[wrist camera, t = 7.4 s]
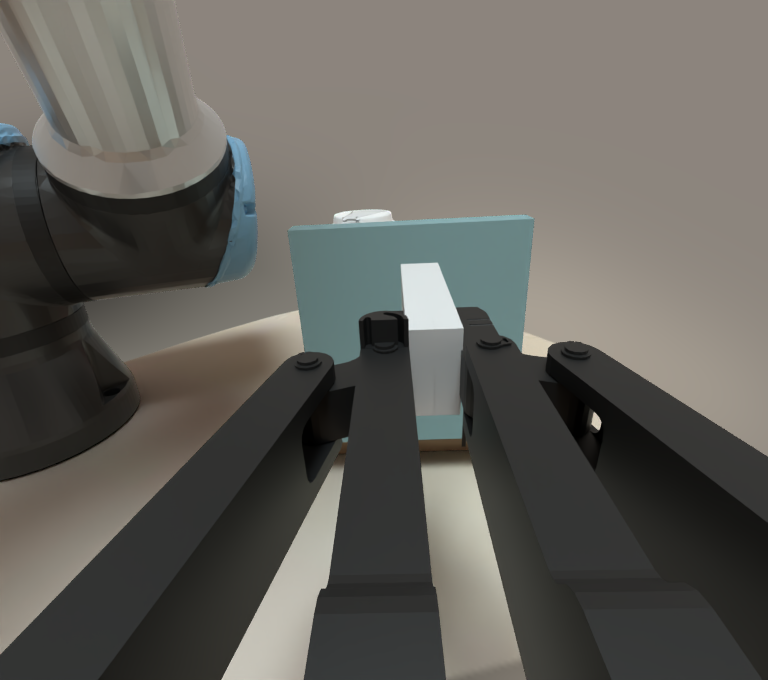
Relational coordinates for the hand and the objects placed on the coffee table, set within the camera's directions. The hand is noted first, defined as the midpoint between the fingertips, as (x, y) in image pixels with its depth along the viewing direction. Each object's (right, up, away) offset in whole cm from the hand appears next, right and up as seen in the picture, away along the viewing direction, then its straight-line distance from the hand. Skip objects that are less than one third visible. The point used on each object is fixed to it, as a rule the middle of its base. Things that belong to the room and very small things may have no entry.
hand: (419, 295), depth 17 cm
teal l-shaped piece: (+1, -5, +19) cm, 19 cm away
